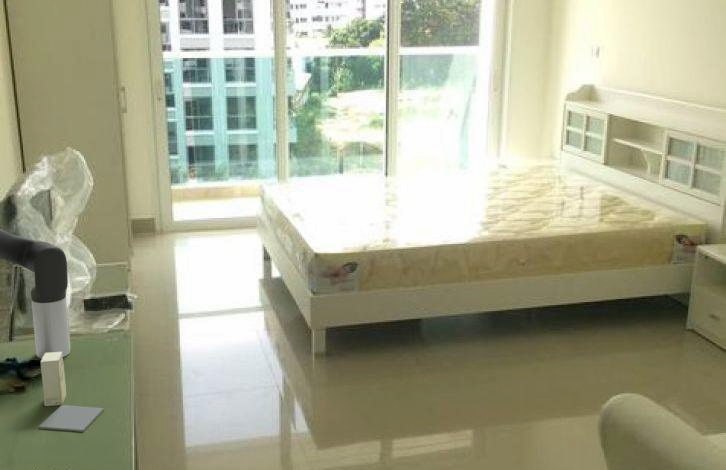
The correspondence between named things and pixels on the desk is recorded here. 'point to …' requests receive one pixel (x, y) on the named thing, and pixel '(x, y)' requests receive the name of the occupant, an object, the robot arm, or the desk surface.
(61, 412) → the grey flat square slab
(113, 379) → the desk surface
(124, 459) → the desk surface
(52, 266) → the robot arm
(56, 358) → the skincare box
